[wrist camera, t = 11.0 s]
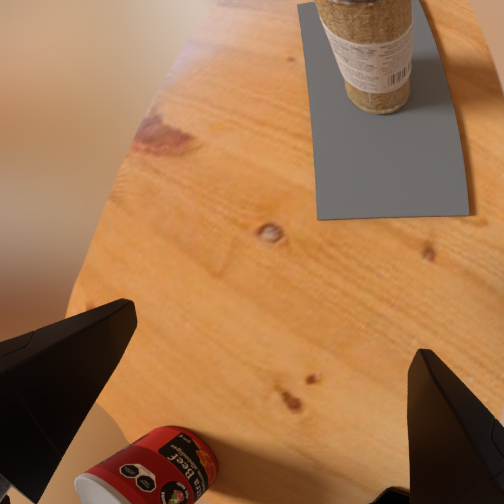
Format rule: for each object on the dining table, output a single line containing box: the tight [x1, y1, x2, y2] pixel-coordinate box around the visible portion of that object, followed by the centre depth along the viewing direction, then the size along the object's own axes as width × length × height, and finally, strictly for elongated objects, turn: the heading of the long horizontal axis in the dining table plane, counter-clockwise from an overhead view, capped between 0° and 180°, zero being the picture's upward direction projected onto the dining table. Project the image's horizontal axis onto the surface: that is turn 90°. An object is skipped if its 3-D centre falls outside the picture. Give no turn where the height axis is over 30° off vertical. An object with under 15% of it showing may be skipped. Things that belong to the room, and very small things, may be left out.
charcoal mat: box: [297, 0, 469, 220], centre depth 19 cm, size 18×10×1 cm, turn 1°
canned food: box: [75, 426, 218, 504], centre depth 21 cm, size 8×8×11 cm
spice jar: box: [314, 0, 413, 114], centre depth 12 cm, size 5×5×13 cm
